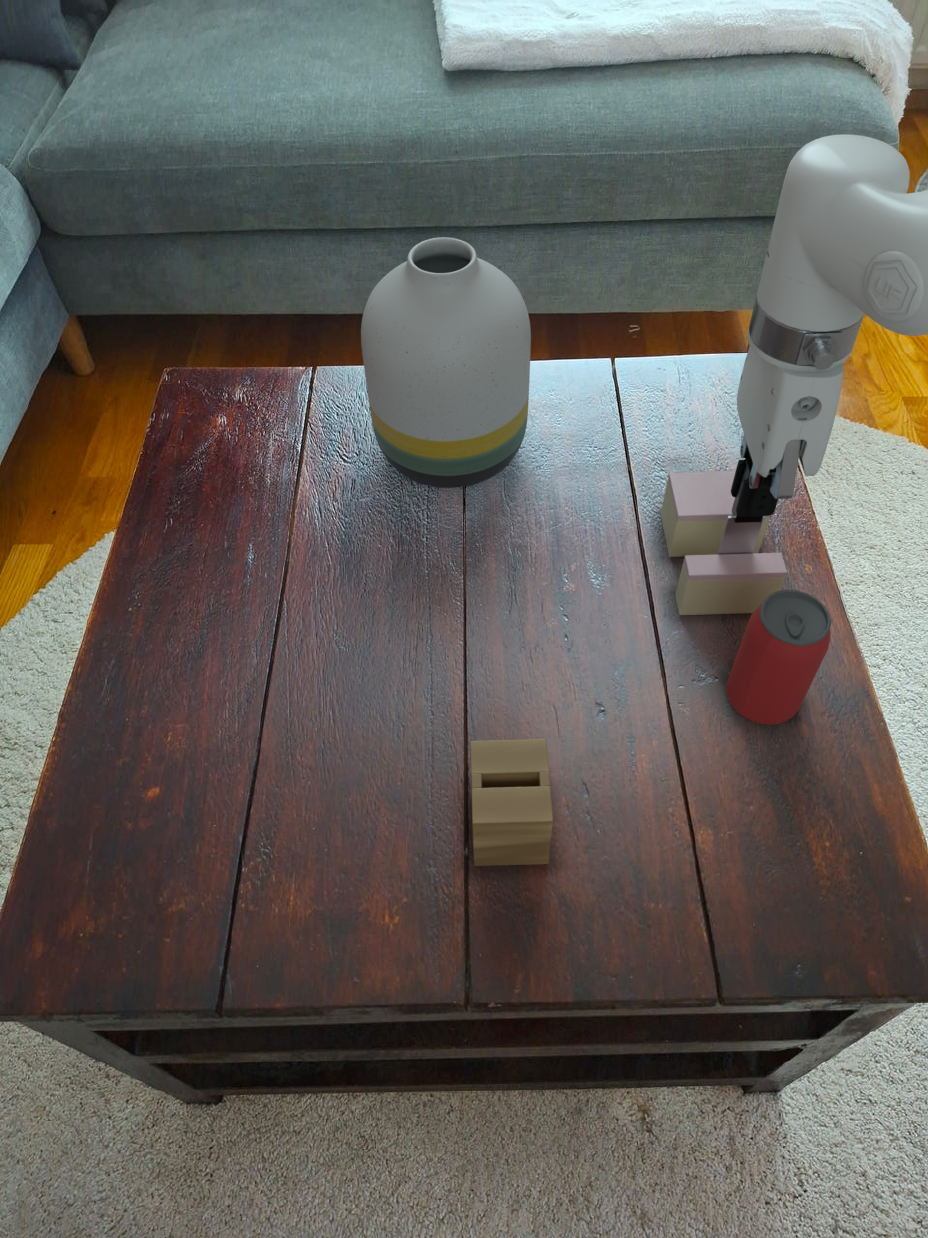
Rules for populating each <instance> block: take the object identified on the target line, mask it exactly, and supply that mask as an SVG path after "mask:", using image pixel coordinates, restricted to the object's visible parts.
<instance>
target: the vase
mask: <svg viewBox="0 0 928 1238" xmlns="http://www.w3.org/2000/svg"><path fill="white" fill-rule="evenodd" d="M477 256H478V255H477V252H476V250H475V248H474V247H473V246H472V245H471V244H470V243H468V242H466V241H464V240H462V239H459V238H454V237H445V236H444V237H443V236H442V237H433V238H429V239H428V238H427V239H426V240H423V241H420V242H418V243H417V244H415V245H414V246H413V247H412V248H410V250H409V252H408V255H407V260H406V261H405V262H404V261H403V263H400V264H399V265H397V266H395V267H394V268H393V269H392V270H390V271H388V273H387V274H385V276H383V277H382V278H381V279H380V280H379V281H378V283H376V285H375V286H374V287H373V289H372V291H371V292H370V294H369V296H368V298H367V301H366V304H365V307H364V309H363V313H362V318H361V327H360V344H361V345H360V347H361V355H362V361H363V363H362V364H363V369H364V377H365V383H366V391H367V398H368V405H369V411H370V412H369V413H370V418H371V424H372V429H373V430H372V431H373V433H374V434H373V435H374V437H375V441H376V443H377V445H378V447H379V449H380V451H381V453H382V455H383V456H384V457H385V459H386V461H388V463H389V465H391V467H393V468H394V470H396V471H397V472H398V473H399V474H400V475H402V476H404V477H405V478H406V479H409V480H410V481H413V482H415V483H417V484H421V485H424V486H428V487H432V488H441V489H456V488H465V487H469V486H470V487H471V486H474V485H477V484H480V483H483V482H485V481H488V480H489V479H492V478H494V477H495V476H496V475H498V474H500V473H501V472H502V471H504V469H505V468H506V467H507V466H508V465H509V464H510V463H512V461H513V459H514V458H515V456H516V455H517V453H518V452H519V449H520V448H521V446H522V443H523V440H524V438H525V435H526V430H527V425H528V417H529V400H530V399H529V397H530V377H531V375H530V374H531V350H532V349H531V348H532V345H531V344H532V334H531V333H532V332H531V331H532V330H531V321H530V316H529V312H528V311H529V310H528V309H527V306H526V305H527V304H526V302H525V300H524V298H523V296H522V293H521V292H520V290H519V288H518V286H517V285H516V284H515V283H514V281H513V280H512V279H511V278H510V276H508V275H507V274H506V273H505V272H503V271H502V270H500V269H499V268H498V267H496V266H495V265H493V264H491V263H490V262H489V261H486V260H484V259H481V258H479V257H477Z"/></svg>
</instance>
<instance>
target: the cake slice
mask: <svg viewBox="0 0 928 1238" xmlns="http://www.w3.org/2000/svg"><path fill="white" fill-rule="evenodd" d="M787 574H788V571H787V567H786V563H785V560H784V557H783V553H782V552H758V553H752V554H719V555H687V556H684V557H683V562H682V565H681V570H680V574H679V578H678V582H677V586H676V591H675V594H674V597H675V601H676V608H677V612H678V615H679V616H704V615H705V616H706V615H736V614H753V613H754V611H755V610H756V609H757V608H758V607H759V605H760V604H762V602H763V601H764V600H765V599H766V598H767V596H769V595H771V594H773V593H774V592H777V591H782V589H783V588H782V587H783V585H784V582H785V580H786V577H787Z"/></svg>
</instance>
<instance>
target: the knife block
mask: <svg viewBox="0 0 928 1238" xmlns="http://www.w3.org/2000/svg"><path fill="white" fill-rule="evenodd" d="M469 742H470V743H469V745H470V746H469V747H470V785H471V786H470V789H471V825H472V826H471V827H472V847H473V848H472V849H473V866H474V867H485V866H487V867H489V866H519V865H520V866H523V865H549V862H550V861H549V860H550V855H551V854H550V853H551V844H552V836H553V827H554V812H553V799H552V787H551V776H550V775H551V773H550V763H549V751H548V750H549V749H548V740H547V738H530V739H529V738H526V739H493V740H492V739H489V740H487V739H486V740H470V741H469Z"/></svg>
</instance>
